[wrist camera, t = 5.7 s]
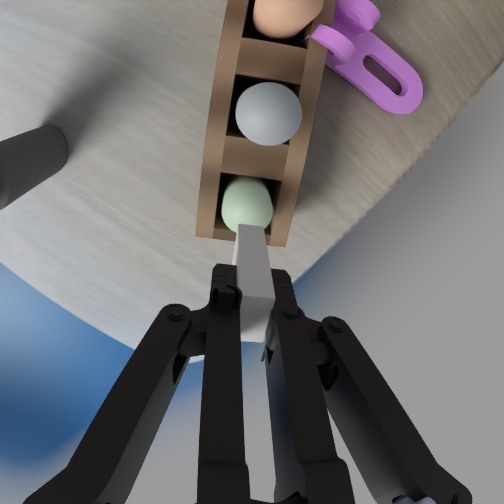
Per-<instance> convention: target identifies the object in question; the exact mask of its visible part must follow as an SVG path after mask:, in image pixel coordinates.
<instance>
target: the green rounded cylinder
mask: <svg viewBox="0 0 504 504" xmlns="http://www.w3.org/2000/svg"><path fill="white" fill-rule="evenodd" d="M272 215H273V207H272V203H271V199H270V196H269V192H268V188H267V185H266V181H265V178H260V177H253V176H246V175H238V174H231V173H230V174H229V176H228V177H227V180H226V183H225V190H224V197H223V204H222V217H223V220H224V222H225V224H226V225H227V226H228V227H229V228H230V229H231V230H232V231H234V232H236V233H237V228H238V224H246V225H254V226H262V227H264V229H265V228H266V227H267V226H268V224H269V223H270V221H271V219H272Z"/></svg>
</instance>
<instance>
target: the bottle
mask: <svg viewBox="0 0 504 504" xmlns="http://www.w3.org/2000/svg"><path fill="white" fill-rule="evenodd" d="M67 154H68V148H67V142H66V139H65V137H64V135H63V134H62V133H61V131H60V130H59V129H57V128H55V127H53V126H43V127H40V128H37V129H34V130H31V131H28V132H25V133H22V134H19V135H17V136H14V137H11V138H9V139H6V140H3V141H1V142H0V210H2V209H3V208H5V207H6V206H8V205H9V204H10V203H12V202H13V201H15V200H16V199H18V198H19V197H21V196H22V195H23V194H25V193H26V192H28V191H29V190H31V189H32V188H34V187H35V186H37V185H38V184H40V183H42V182H43V181H45V180H46V179H48V178H49V177H51V176H52V175H54V174H56V173H57V172H58V171H60V170H61V169H62V167H63V166H64V164H65V162H66V159H67Z"/></svg>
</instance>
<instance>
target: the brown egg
mask: <svg viewBox="0 0 504 504" xmlns="http://www.w3.org/2000/svg"><path fill="white" fill-rule="evenodd" d="M322 7H323V0H255V6H254V11H253V24H254V26H255V28H256V30H257V31H258V32H259V33H260V34H261V35H263V36H264V37H266V38H269V39H272V40H287V39H290V38H292V37H294V36H295V35H296V34H297V33H299V32H300V31H301V30H302V29H303V28H304V27H305V26H306V25H307V24H308V23H310V22H311V21H312V20H313V19H314V18H315V17H316V16H317V15H318V14H319V13H320V11H321V10H322Z"/></svg>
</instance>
